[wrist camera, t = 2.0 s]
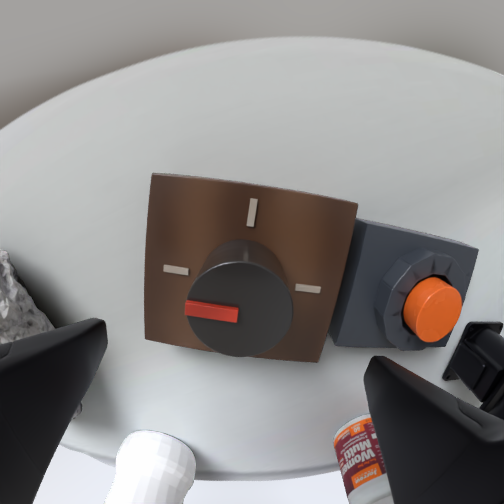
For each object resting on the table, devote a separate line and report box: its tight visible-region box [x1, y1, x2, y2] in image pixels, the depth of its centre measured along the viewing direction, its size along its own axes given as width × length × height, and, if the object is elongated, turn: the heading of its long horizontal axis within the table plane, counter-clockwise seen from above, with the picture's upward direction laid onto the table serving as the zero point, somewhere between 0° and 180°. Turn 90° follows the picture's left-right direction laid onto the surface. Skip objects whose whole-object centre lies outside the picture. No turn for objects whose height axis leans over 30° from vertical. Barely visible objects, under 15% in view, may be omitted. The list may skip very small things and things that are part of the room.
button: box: [403, 277, 462, 342], centre depth 14 cm, size 4×4×2 cm
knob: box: [185, 239, 293, 357], centre depth 13 cm, size 4×4×4 cm
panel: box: [144, 173, 358, 363], centre depth 17 cm, size 11×10×3 cm
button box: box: [328, 218, 479, 351], centre depth 17 cm, size 10×8×4 cm
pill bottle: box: [333, 414, 394, 504], centre depth 17 cm, size 6×6×11 cm
